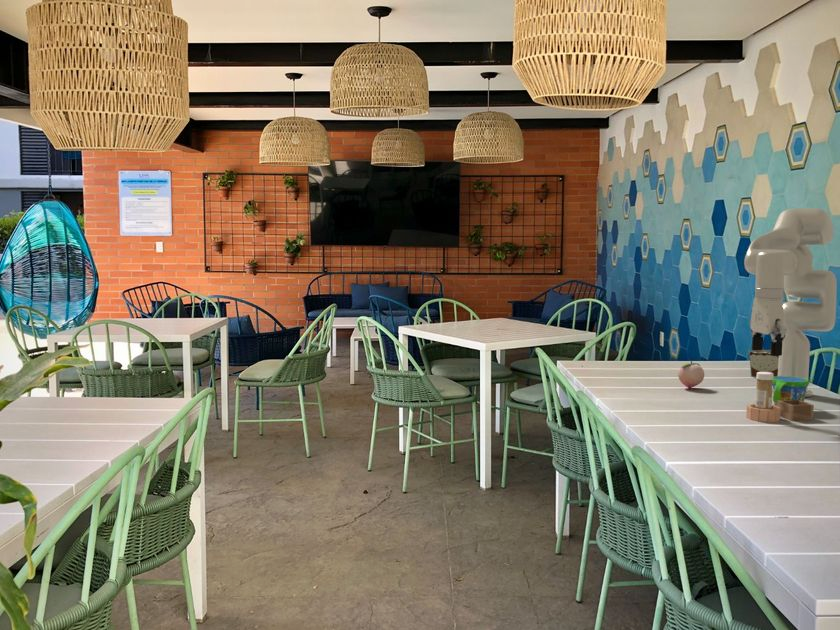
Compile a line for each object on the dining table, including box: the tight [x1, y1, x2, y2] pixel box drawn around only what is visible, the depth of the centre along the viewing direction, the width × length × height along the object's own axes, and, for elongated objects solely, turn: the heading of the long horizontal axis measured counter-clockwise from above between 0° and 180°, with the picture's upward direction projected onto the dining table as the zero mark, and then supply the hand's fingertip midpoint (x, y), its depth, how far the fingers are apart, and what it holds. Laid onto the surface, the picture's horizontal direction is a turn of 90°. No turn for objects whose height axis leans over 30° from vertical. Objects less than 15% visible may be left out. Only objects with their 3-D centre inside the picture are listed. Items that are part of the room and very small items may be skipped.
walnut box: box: [777, 400, 815, 422], centre depth 240 cm, size 7×7×5 cm
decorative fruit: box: [677, 360, 705, 389], centre depth 287 cm, size 9×8×10 cm
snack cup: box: [772, 376, 810, 406], centre depth 251 cm, size 16×10×10 cm
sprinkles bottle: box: [755, 372, 774, 410], centre depth 238 cm, size 5×5×14 cm
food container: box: [747, 349, 779, 378], centre depth 312 cm, size 12×6×10 cm, turn 58°
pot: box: [745, 403, 781, 423], centre depth 239 cm, size 9×9×4 cm
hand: (766, 352), depth 237 cm, fingers open, 9 cm apart
